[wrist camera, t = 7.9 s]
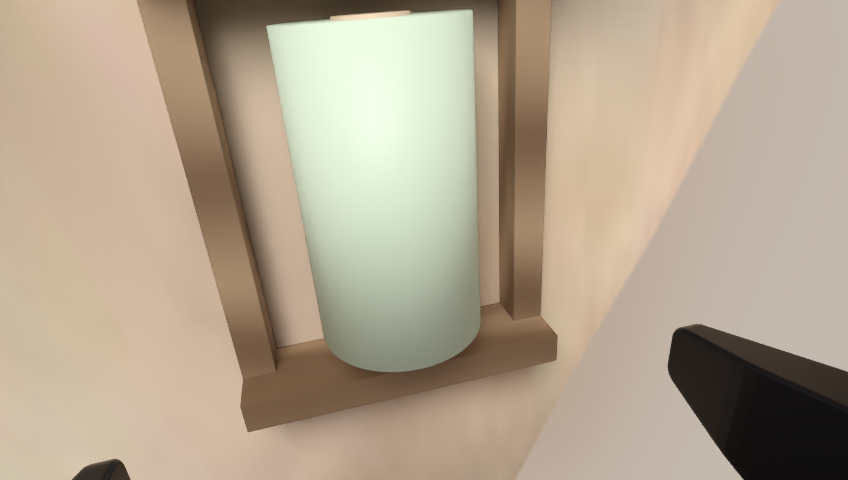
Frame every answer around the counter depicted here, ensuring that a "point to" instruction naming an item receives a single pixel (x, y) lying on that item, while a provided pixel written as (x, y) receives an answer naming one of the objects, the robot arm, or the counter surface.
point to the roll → (386, 179)
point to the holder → (234, 258)
